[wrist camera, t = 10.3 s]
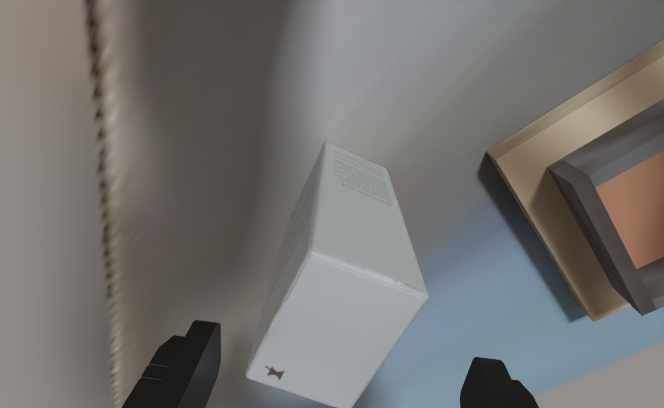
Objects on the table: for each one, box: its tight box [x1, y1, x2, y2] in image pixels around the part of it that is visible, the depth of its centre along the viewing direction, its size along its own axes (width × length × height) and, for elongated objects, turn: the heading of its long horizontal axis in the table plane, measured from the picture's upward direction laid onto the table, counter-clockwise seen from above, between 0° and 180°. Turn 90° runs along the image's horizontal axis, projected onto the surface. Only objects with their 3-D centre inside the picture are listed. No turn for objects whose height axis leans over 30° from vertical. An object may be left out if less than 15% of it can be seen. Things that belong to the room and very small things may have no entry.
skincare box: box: [246, 142, 429, 408], centre depth 17 cm, size 6×4×12 cm
